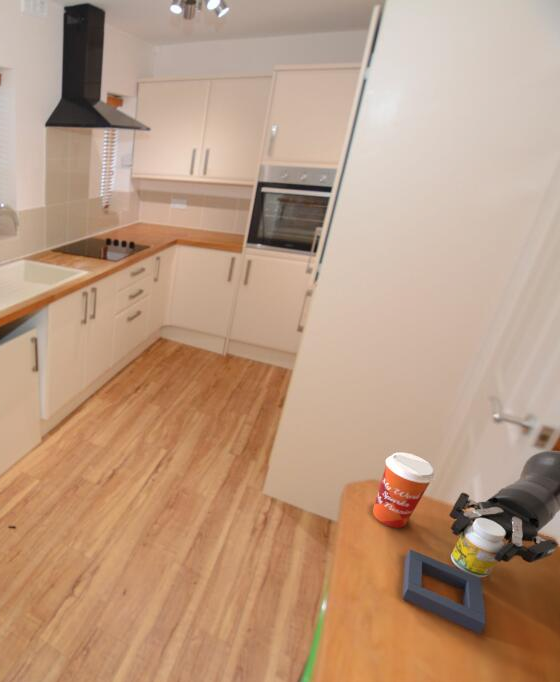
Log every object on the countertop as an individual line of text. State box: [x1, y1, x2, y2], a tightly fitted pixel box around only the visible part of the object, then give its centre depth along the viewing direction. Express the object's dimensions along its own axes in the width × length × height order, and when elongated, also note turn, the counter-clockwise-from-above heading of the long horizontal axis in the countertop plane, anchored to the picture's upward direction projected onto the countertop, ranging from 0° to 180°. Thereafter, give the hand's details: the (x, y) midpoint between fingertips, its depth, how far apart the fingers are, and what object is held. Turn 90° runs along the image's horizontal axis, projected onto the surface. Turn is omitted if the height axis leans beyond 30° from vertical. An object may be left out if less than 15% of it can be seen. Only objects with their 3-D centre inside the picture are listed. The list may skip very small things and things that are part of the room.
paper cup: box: [372, 451, 437, 529], centre depth 90 cm, size 8×8×14 cm
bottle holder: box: [402, 549, 487, 635], centre depth 78 cm, size 10×10×2 cm
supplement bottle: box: [450, 518, 506, 578], centre depth 80 cm, size 5×5×10 cm
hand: (476, 543), depth 78 cm, fingers closed on supplement bottle, 5 cm apart
